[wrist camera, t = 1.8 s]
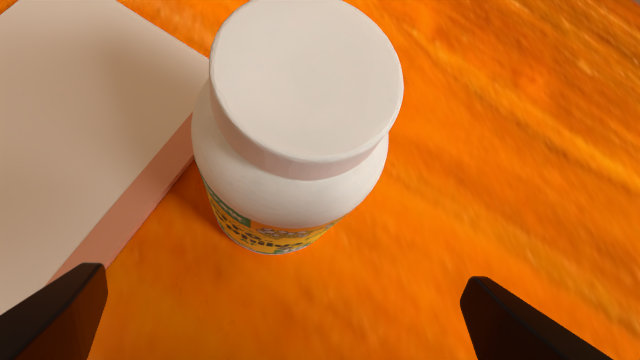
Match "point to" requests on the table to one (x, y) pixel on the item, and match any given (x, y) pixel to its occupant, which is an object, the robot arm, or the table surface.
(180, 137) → the notepad
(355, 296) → the table surface
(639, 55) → the table surface
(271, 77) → the supplement bottle
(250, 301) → the table surface
